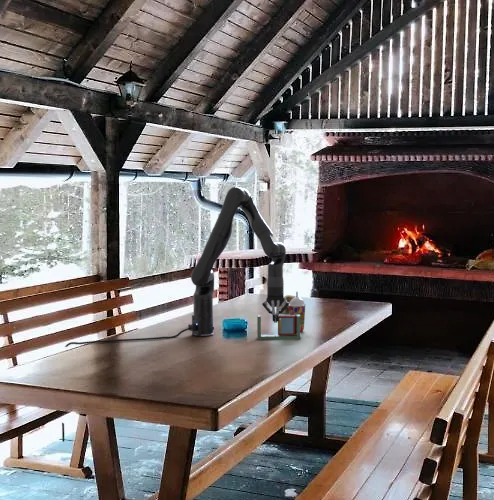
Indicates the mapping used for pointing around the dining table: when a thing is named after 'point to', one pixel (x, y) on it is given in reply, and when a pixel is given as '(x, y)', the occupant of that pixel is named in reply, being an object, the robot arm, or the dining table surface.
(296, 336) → the green double frame
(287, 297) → the stone
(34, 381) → the dining table surface
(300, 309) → the smoothie
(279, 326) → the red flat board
